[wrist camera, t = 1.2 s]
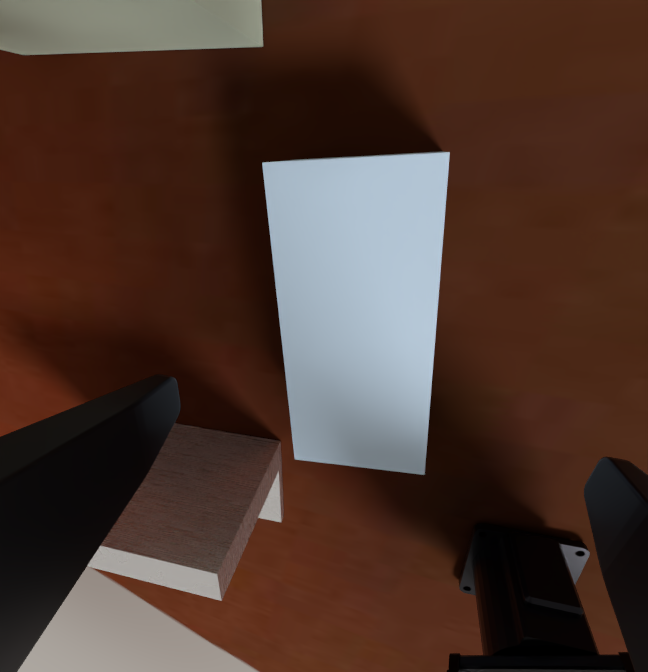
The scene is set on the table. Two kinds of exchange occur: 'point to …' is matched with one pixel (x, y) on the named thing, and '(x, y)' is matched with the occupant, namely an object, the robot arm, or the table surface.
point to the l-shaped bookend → (196, 511)
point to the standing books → (127, 25)
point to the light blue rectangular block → (358, 302)
